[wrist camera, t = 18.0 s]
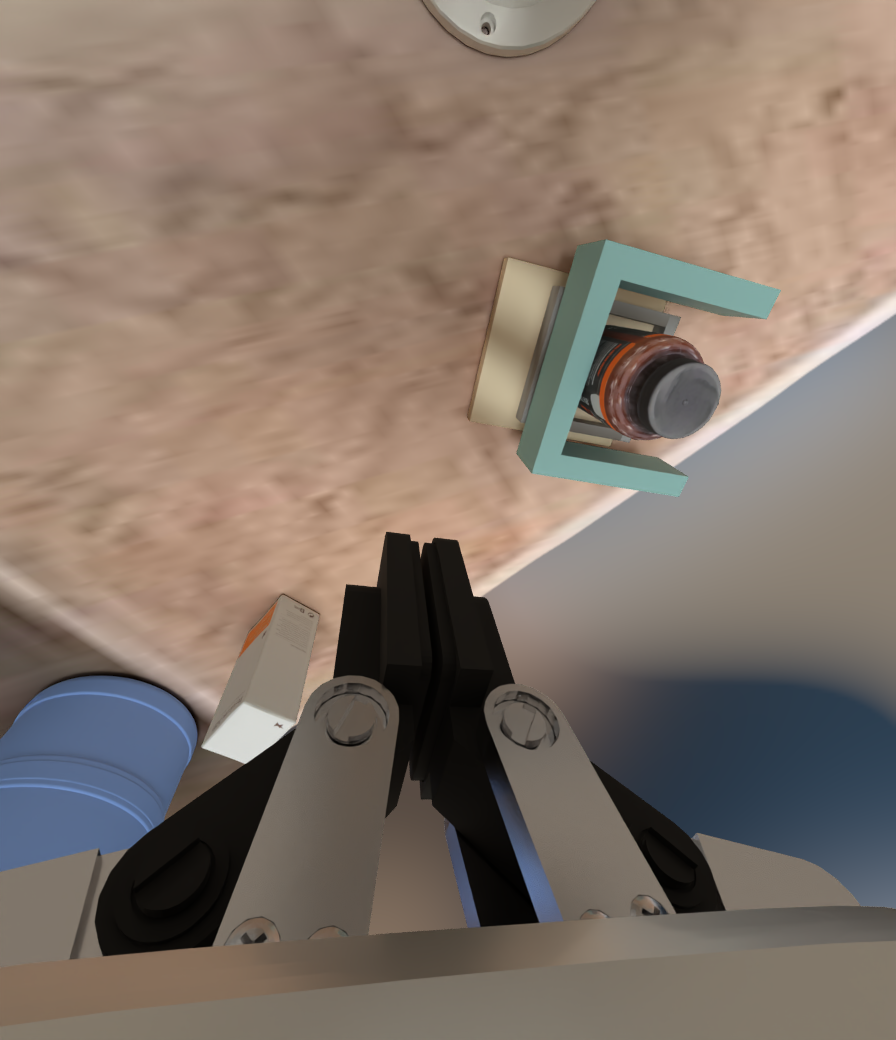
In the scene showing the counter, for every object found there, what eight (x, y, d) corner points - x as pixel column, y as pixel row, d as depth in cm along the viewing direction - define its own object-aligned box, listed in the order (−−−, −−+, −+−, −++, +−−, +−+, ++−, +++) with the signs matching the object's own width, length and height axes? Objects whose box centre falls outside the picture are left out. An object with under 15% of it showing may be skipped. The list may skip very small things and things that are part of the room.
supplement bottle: (549, 407, 33) (617, 458, 23) (561, 322, 31) (644, 339, 21) (622, 407, 34) (718, 456, 24) (640, 324, 31) (757, 341, 21)
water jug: (82, 644, 40) (-404, 1215, 15) (231, 717, 46) (58, 1195, 22) (-2, 732, 43) (-501, 1305, 19) (148, 787, 50) (-80, 1263, 26)
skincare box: (281, 591, 40) (244, 700, 29) (321, 613, 41) (298, 723, 31) (245, 632, 41) (198, 749, 31) (285, 651, 43) (252, 768, 33)
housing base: (504, 258, 29) (514, 255, 27) (664, 301, 32) (687, 302, 29) (467, 417, 34) (473, 426, 32) (609, 443, 37) (624, 453, 34)
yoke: (577, 245, 27) (606, 239, 23) (733, 289, 29) (781, 290, 26) (516, 453, 33) (531, 473, 29) (649, 476, 35) (678, 496, 32)
